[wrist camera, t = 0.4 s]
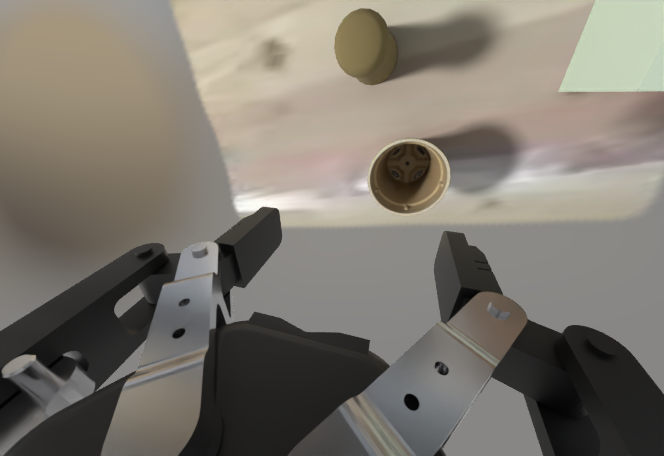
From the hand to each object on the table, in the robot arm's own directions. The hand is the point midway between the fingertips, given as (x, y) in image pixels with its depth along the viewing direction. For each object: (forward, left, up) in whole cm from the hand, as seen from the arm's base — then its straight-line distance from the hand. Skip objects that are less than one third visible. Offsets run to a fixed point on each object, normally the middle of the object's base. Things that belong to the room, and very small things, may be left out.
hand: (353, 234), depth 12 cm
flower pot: (+3, +3, -28) cm, 28 cm away
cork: (-10, -3, -28) cm, 29 cm away
